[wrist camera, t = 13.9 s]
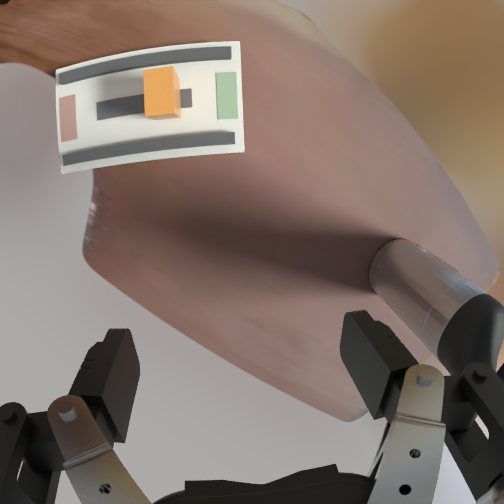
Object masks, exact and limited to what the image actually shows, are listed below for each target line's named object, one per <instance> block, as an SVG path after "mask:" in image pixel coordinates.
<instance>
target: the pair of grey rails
mask: <svg viewBox="0 0 504 504" xmlns="http://www.w3.org/2000/svg"><path fill="white" fill-rule="evenodd" d="M231 57H232V55H231V46H221V47H203V48H190V49H180V50H171V51H162V52H155V53H148V54H142V55H136V56H130V57H125V58H119V59H114V60H110V61H105V62H100V63H96V64H92V65H88V66H84V67H80V68H76V69H73V70H69V71H66V72H62V73H59V84H61V85H66V84H69V83H73V82H77V81H81V80H85V79H89V78H93V77H98V76H102V75H107V74H112V73H117V72H122V71H127V70H133V69H139V68H145V67H152V66H159V65H167V64H176V63H186V62H198V61H212V60H231ZM230 144H235V132H229V133H213V134H200V135H189V136H179V137H169V138H161V139H152V140H145V141H137V142H131V143H124V144H118V145H111V146H106V147H100V148H94V149H89V150H84V151H79V152H74V153H69V154H64V155H62V157H63V166H67V165H72V164H77V163H82V162H87V161H93V160H99V159H105V158H111V157H117V156H124V155H131V154H138V153H145V152H153V151H162V150H170V149H180V148H191V147H202V146H215V145H230Z"/></svg>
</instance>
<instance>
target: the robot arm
mask: <svg viewBox="0 0 504 504" xmlns="http://www.w3.org/2000/svg"><path fill="white" fill-rule="evenodd" d="M369 281H370V285H371V287H372V289H373V290H374V291H375V292H376V293H377V294H378V295H379V296H380V297H381V298H382V299H383V300H384V301H385V303H386V304H387V305H388V306H389V307H390V308H391V309H392V310H393V311H394V312H395V313H396V314H397V315H398V316H399V317H400V318H401V319H402V321H403V322H404V323H405V324H406V325H407V326H408V327H409V328H410V329H411V330H412V331H413V332H414V333H415V335H416V336H417V337H418V338H419V339H420V340H421V341H422V342H423V343H424V344H425V345H426V346H427V348H428V349H429V350H430V351H431V352H432V353H433V354H434V355H435V357H436V358H437V359H438V360H439V361H440V362H441V363H442V364H443V366H444V367H445V368H446V369H447V370H448V372H449V373H450V374H451V376H443V374H442V373H441V372H440V371H439V370H438V369H437V368H435V367H433V366H430V365H426V364H419V363H418V362H417V360H416V359H415V358H414V357H413V356H412V354H411V353H410V352H409V351H408V349H407V348H406V347H405V346H404V344H403V343H401V341H400V340H399V338H398V337H397V336H395V334H394V332H393V331H392V330H391V329H390V328H389V327H388V326H387V325H385V324H383V323H382V322H380V321H374V320H373V318H372V317H371V316H370V315H369V313H368V312H367V311H366V310H360V311H353V312H347V313H346V314H345V316H344V321H343V328H342V335H341V342H340V354H341V358H342V361H343V363H344V364H345V366H346V368H347V370H348V372H349V374H350V376H351V377H352V379H353V381H354V383H355V385H356V387H357V389H358V391H359V392H360V394H361V396H362V398H363V400H364V402H365V404H366V406H367V408H368V409H369V411H370V413H371V415H372V417H373V419H374V420H375V419H379V418H382V417H386V419H387V423H386V426H385V429H384V432H383V435H382V438H381V441H380V444H379V447H378V449H377V452H376V455H375V458H374V460H373V463H372V465H371V468H370V470H369V472H368V474H367V476H363V475H359V474H353V473H339V472H338V469H337V466H336V464H332V465H328V466H324V467H318V468H313V469H309V470H303V471H299V472H297V473H294V474H291V475H289V476H286V477H283V478H281V479H278V480H275V481H272V482H270V483H267V484H250V483H242V482H233V481H227V480H205V481H185V490H182V491H178V492H175V493H172V494H169V495H167V496H165V497H163V498H161V499H159V500H157V501H156V502H154V503H153V504H432V500H433V496H434V492H435V488H436V483H437V478H438V474H439V469H440V463H441V458H442V451H443V445H444V442H445V444H446V446H447V447H448V449H449V451H450V453H451V454H452V456H453V458H454V460H455V462H456V463H457V466H458V467H459V469H460V471H461V473H462V474H463V477H464V479H465V481H466V483H467V485H468V487H469V488H470V490H471V492H472V494H473V496H474V498H475V500H476V504H504V363H503V365H502V366H501V367H500V369H499V370H498V371H497V372H496V365H497V359H498V354H499V351H500V348H501V344H502V342H503V338H504V307H503V305H502V304H501V303H500V302H498V301H497V300H496V299H495V298H493V297H492V296H490V295H489V294H487V293H486V292H485V291H483V290H482V289H481V288H479V287H478V286H476V285H475V284H474V283H472V282H470V281H469V280H468V279H466V278H465V277H463V276H462V275H460V274H459V271H458V270H456V269H455V268H453V267H452V266H450V265H449V264H447V263H446V262H444V261H442V260H441V259H439V258H438V257H436V256H435V255H433V254H432V253H430V252H429V251H427V250H425V249H424V248H422V247H418V246H417V245H415V244H413V243H412V242H410V241H408V240H405V239H396V240H393V241H391V242H389V243H387V244H385V245H384V246H383V247H382V248H381V249H380V250H379V251H378V252H377V253H376V255H375V257H374V258H373V260H372V263H371V265H370V270H369ZM139 377H140V364H139V359H138V356H137V353H136V349H135V345H134V342H133V338H132V334H131V332H130V330H129V329H109V330H108V332H107V334H106V336H105V338H104V340H103V342H97V343H96V344H95V345H94V346H93V347H91V348H90V349H89V350H88V352H87V355H86V357H85V359H84V361H83V363H82V365H81V369H79V372H78V374H77V376H76V378H75V380H74V383H73V385H72V387H71V389H70V392H69V394H68V395H66V396H62V397H60V398H58V399H56V400H55V401H53V402H52V403H51V405H50V406H49V408H48V411H44V412H37V413H27V411H26V410H25V408H24V407H23V406H22V405H21V404H19V403H16V402H10V403H6V404H4V405H2V406H1V407H0V504H54V503H55V498H56V493H57V488H58V483H59V478H60V474H61V471H62V470H65V471H66V474H67V475H68V477H69V480H70V482H71V484H72V486H73V488H74V490H75V492H76V494H77V496H78V498H79V500H80V501H81V503H82V504H152V503H151V502H150V501H149V500H148V498H147V497H146V496H145V495H144V493H143V492H142V491H141V489H140V488H139V487H138V485H137V484H136V483H135V481H134V480H133V478H132V477H131V476H130V474H129V473H128V471H127V470H126V468H125V467H124V466H123V464H122V463H121V461H120V460H119V458H118V457H117V455H116V454H115V452H114V450H113V445H114V442H118V443H125V440H126V435H127V430H128V426H129V420H130V416H131V411H132V407H133V402H134V398H135V394H136V390H137V385H138V381H139ZM477 415H479V417H480V418H481V420H482V421H483V423H484V424H485V426H486V427H487V429H488V432H489V439H487V438H486V436H485V435H484V433H483V431H482V430H481V428H480V427H479V426H478V424H477V423H476V421H475V419H476V417H477ZM22 461H23V465H22V468H21V471H20V474H19V478H18V481H17V475H18V472H19V468H20V465H21V462H22Z"/></svg>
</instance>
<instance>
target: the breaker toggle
mask: <svg viewBox="0 0 504 504" xmlns="http://www.w3.org/2000/svg"><path fill="white" fill-rule="evenodd" d="M143 76H144V106H145V117H147V118H151V119H154V120H164V119H173V118H181V102H180V79H179V77H178V75H177V73H176V71H175V69H174V67H173V66H170V67H162V68H154V69H147V70H143Z"/></svg>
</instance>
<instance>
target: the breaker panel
mask: <svg viewBox="0 0 504 504" xmlns="http://www.w3.org/2000/svg"><path fill="white" fill-rule="evenodd" d="M221 46H231V55H232V57H231V60H212V61H198V62H186V63H176V64H167V65H159V66H152V67H145V68H139V69H133V70H127V71H122V72H117V73H112V74H107V75H102V76H98V77H93V78H89V79H85V80H81V81H77V82H73V83H69V84H66V85H61V84H59V73H62V72H66V71H69V70H73V69H76V68H80V67H84V66H88V65H92V64H96V63H100V62H105V61H110V60H114V59H119V58H125V57H130V56H136V55H142V54H148V53H155V52H162V51H171V50H180V49H190V48H203V47H221ZM170 66H173V67H174V69H175V71H176V73H177V75H178V77H179V79H180V102H181V118H173V119H164V120H154V119H151V118H147V117H145V106H144V76H143V70H147V69H154V68H162V67H170ZM56 117H57V134H58V147H59V158H60V167H61V174H66V173H72V172H77V171H82V170H87V169H94V168H100V167H106V166H112V165H119V164H126V163H133V162H140V161H148V160H156V159H165V158H174V157H184V156H195V155H207V154H220V153H236V152H244V129H243V105H242V81H241V57H240V41H233V42H209V43H195V44H183V45H174V46H165V47H158V48H151V49H144V50H138V51H132V52H127V53H121V54H116V55H112V56H107V57H102V58H98V59H94V60H90V61H86V62H82V63H78V64H75V65H71V66H67V67H64V68H61V69H57V70H56ZM229 132H235V144H230V145H215V146H202V147H191V148H180V149H170V150H162V151H153V152H145V153H138V154H131V155H124V156H117V157H111V158H105V159H99V160H93V161H87V162H82V163H77V164H72V165H67V166H63V157H62V155H64V154H69V153H74V152H79V151H84V150H89V149H94V148H100V147H106V146H111V145H118V144H124V143H131V142H137V141H145V140H152V139H161V138H169V137H179V136H189V135H200V134H213V133H229Z"/></svg>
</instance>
